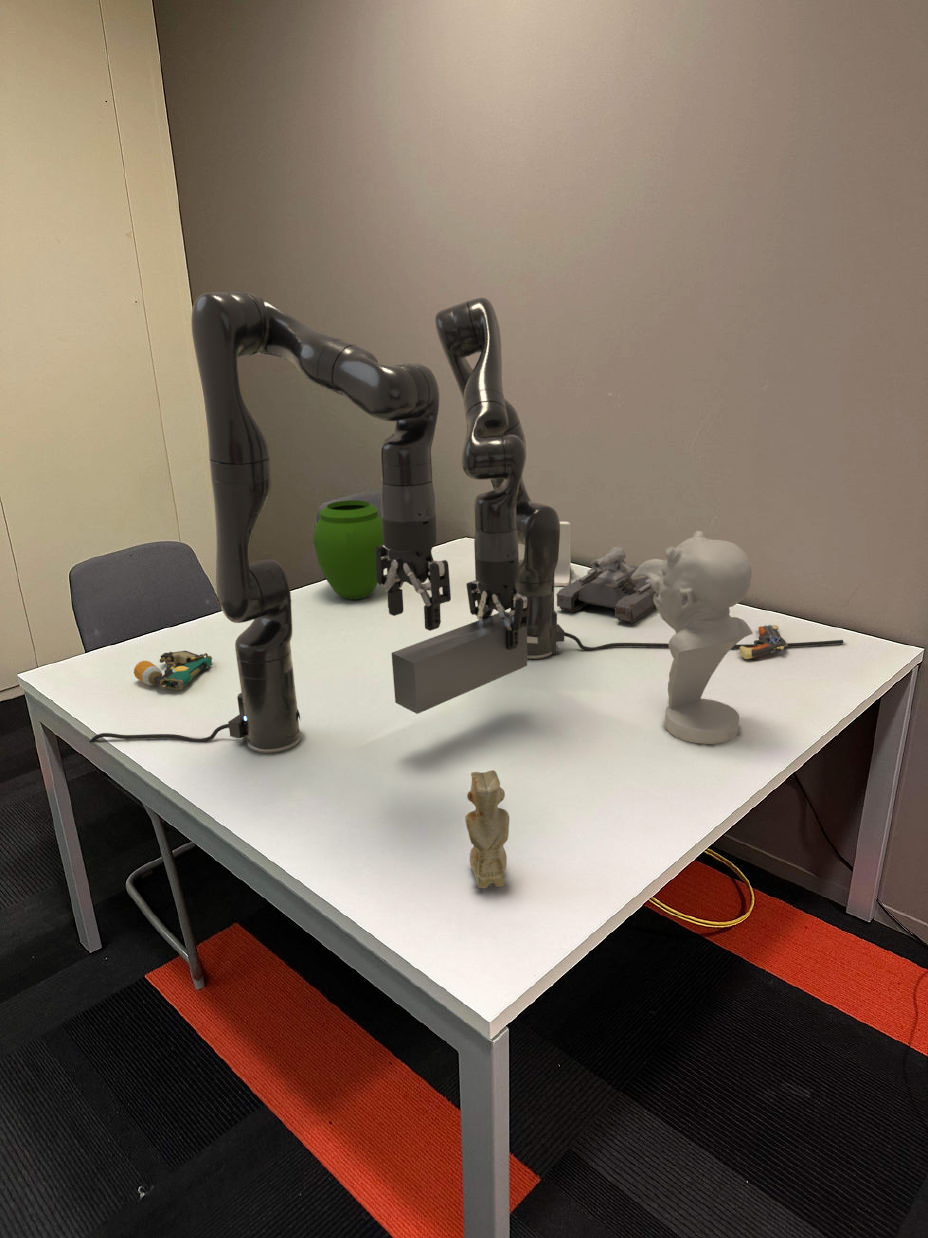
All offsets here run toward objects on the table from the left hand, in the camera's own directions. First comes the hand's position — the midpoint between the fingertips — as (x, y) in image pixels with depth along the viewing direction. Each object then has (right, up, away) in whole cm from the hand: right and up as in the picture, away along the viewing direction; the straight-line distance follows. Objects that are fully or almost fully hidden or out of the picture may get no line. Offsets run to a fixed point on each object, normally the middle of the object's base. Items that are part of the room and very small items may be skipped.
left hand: (414, 621), depth 125 cm
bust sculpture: (+47, -19, +30) cm, 59 cm away
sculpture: (+11, -35, -10) cm, 38 cm away
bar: (+7, -11, +24) cm, 27 cm away
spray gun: (-53, -12, +56) cm, 78 cm away
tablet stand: (+24, +12, +114) cm, 117 cm away
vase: (-22, +6, +102) cm, 104 cm away
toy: (+46, +4, +89) cm, 100 cm away
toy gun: (+72, -6, +63) cm, 96 cm away
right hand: (+14, -4, +27) cm, 31 cm away
